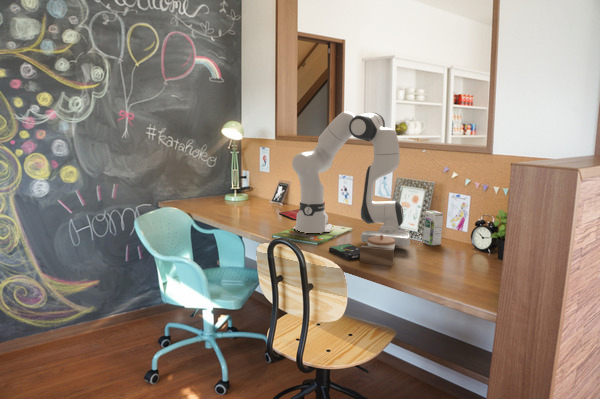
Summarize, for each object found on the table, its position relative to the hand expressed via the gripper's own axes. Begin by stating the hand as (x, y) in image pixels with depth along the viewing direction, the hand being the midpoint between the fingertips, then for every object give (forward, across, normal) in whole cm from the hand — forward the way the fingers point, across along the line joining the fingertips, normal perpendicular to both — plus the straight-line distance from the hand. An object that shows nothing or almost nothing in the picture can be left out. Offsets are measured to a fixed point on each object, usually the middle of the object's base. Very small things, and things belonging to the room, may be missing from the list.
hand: (382, 242), depth 188 cm
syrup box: (-26, +18, +5) cm, 32 cm away
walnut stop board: (+12, 0, +5) cm, 13 cm away
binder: (-60, -57, +6) cm, 83 cm away
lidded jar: (+5, 0, +5) cm, 7 cm away
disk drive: (+4, -13, +6) cm, 15 cm away
